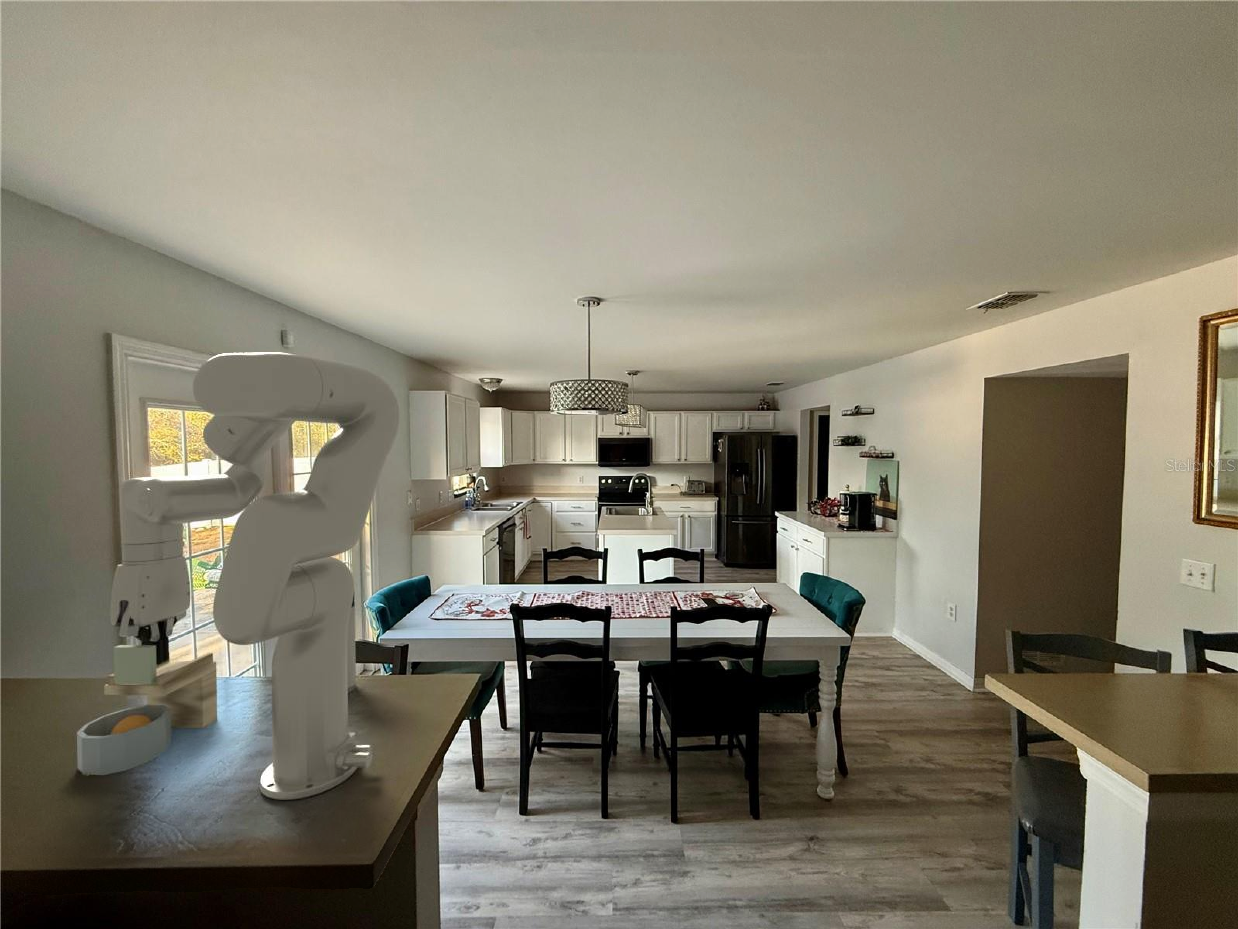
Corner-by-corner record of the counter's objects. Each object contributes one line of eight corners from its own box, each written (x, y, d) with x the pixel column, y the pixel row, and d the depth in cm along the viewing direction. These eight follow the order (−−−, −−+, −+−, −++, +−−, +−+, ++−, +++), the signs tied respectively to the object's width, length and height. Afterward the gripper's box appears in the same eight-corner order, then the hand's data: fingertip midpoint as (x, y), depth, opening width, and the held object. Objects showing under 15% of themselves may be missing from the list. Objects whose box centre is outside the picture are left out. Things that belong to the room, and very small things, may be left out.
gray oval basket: (186, 738, 86) (185, 705, 86) (125, 776, 76) (124, 738, 76) (127, 737, 87) (126, 704, 87) (58, 775, 76) (57, 737, 76)
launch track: (217, 719, 93) (216, 653, 92) (165, 750, 83) (164, 676, 82) (163, 718, 93) (161, 652, 93) (105, 749, 83) (104, 676, 83)
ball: (153, 708, 83) (126, 737, 79) (167, 728, 86) (141, 757, 81) (123, 707, 83) (94, 737, 79) (137, 727, 86) (110, 757, 81)
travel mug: (363, 683, 107) (362, 586, 107) (343, 698, 100) (341, 594, 100) (334, 682, 108) (333, 585, 107) (312, 697, 101) (311, 594, 101)
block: (161, 679, 84) (160, 643, 84) (150, 684, 82) (150, 647, 82) (125, 679, 84) (124, 643, 84) (114, 683, 82) (113, 647, 82)
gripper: (172, 544, 94) (174, 646, 94) (83, 561, 79) (85, 682, 79) (212, 544, 93) (214, 646, 94) (131, 561, 78) (133, 682, 79)
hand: (155, 662), depth 86 cm, fingers closed
